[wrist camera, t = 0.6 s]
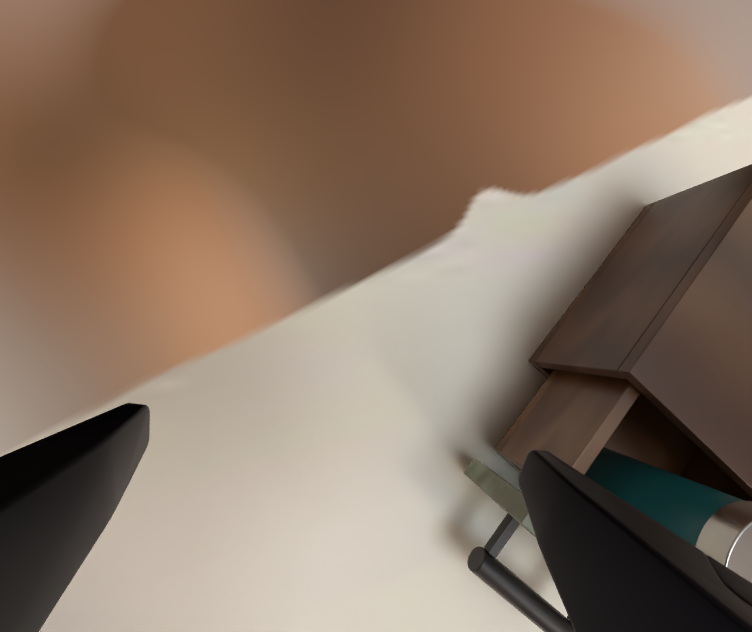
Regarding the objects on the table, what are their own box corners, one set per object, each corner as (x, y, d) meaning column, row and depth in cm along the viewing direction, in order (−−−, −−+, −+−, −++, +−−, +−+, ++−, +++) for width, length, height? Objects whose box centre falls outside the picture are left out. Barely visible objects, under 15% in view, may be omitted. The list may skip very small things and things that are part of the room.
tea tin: (635, 488, 25) (849, 588, 15) (580, 537, 24) (769, 678, 14) (595, 426, 24) (786, 486, 15) (539, 473, 24) (701, 572, 14)
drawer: (572, 645, 24) (668, 759, 18) (424, 522, 23) (468, 596, 17) (714, 424, 27) (842, 452, 21) (588, 304, 26) (682, 293, 19)
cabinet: (667, 489, 27) (822, 555, 19) (527, 360, 26) (628, 371, 18) (770, 330, 30) (947, 327, 21) (646, 204, 28) (785, 150, 20)
